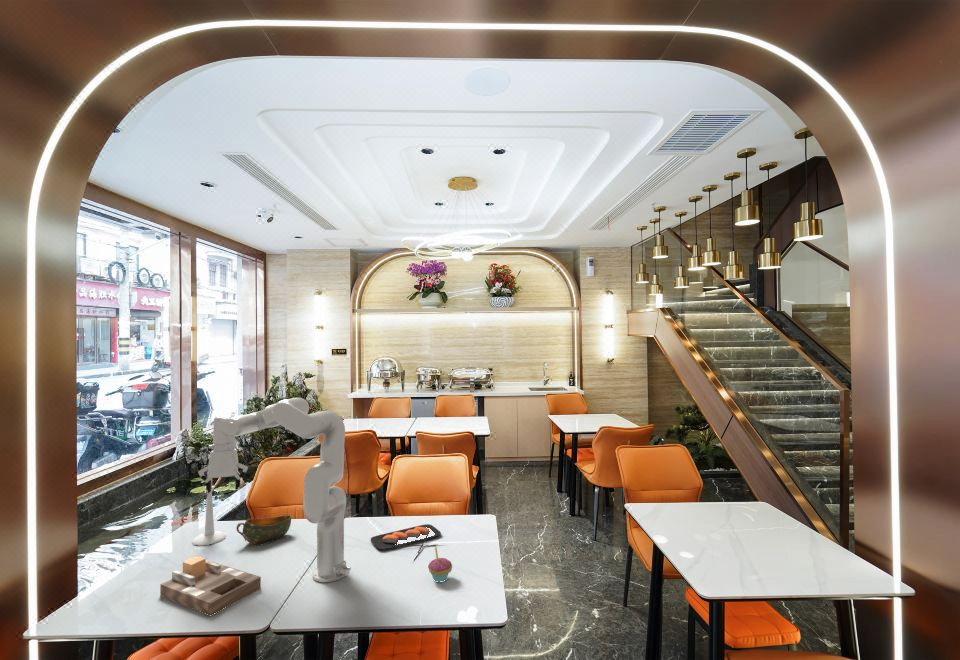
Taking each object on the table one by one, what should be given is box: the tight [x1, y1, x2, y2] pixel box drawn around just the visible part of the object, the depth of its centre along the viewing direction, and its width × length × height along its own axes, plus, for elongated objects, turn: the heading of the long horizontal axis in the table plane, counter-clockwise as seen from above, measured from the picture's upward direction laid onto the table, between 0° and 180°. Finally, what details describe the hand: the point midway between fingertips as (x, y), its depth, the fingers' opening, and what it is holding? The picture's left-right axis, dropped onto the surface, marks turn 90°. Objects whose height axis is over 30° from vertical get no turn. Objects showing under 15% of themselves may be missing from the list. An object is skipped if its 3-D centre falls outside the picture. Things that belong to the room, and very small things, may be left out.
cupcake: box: [427, 544, 453, 582], centre depth 165 cm, size 9×8×12 cm
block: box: [182, 555, 207, 578], centre depth 162 cm, size 5×5×5 cm
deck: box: [159, 559, 262, 616], centre depth 158 cm, size 27×18×6 cm, turn 64°
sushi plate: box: [370, 523, 442, 554], centre depth 193 cm, size 29×30×4 cm
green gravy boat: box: [236, 514, 292, 546], centre depth 200 cm, size 13×20×10 cm, turn 100°
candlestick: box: [191, 471, 227, 547], centre depth 201 cm, size 13×13×30 cm
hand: (223, 490), depth 181 cm, fingers open, 9 cm apart
